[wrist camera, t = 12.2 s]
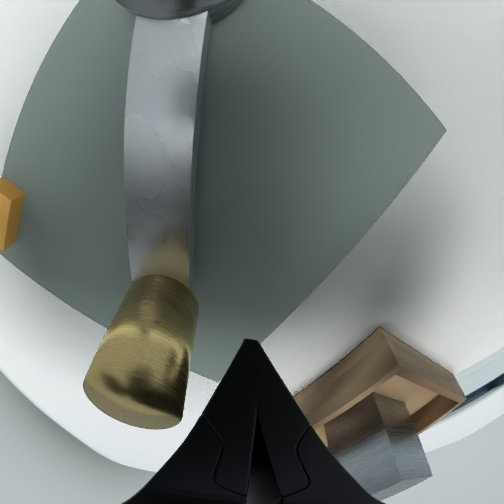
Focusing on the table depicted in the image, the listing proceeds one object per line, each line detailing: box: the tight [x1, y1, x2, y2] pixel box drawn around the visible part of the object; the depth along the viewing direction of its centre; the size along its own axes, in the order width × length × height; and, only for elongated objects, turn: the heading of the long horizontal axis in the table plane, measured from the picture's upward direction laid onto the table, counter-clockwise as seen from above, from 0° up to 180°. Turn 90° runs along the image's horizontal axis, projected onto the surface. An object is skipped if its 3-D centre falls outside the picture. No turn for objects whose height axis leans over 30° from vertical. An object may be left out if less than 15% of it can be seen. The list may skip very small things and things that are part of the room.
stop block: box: [324, 392, 432, 501], centre depth 13 cm, size 4×4×6 cm
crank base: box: [0, 0, 446, 382], centre depth 8 cm, size 14×12×2 cm
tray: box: [293, 327, 466, 448], centre depth 15 cm, size 10×10×2 cm
